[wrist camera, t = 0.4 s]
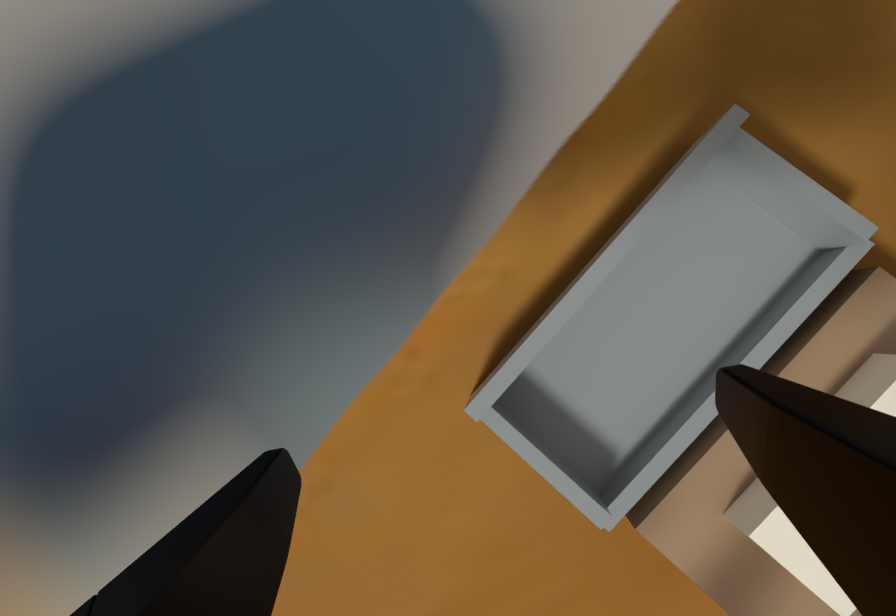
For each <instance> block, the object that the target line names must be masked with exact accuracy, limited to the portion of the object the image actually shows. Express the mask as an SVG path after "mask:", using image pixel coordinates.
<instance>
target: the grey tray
mask: <svg viewBox="0 0 896 616" xmlns="http://www.w3.org/2000/svg"><path fill="white" fill-rule="evenodd" d="M750 115H751V114H749V113H748V112H746V111H745V110H744V109H742V108H741V107H739V106H738V105H737V104H734V105H733V106H732V107H731V108H730V109H729V110H728V111H727V112H726V113H725V114H724V115H723V116H722V117H721V118H720V119H719V120H718V121H717V122H716V123H714V124H713V125H712V126H711V127H710V128H709V129H708V130H707V131H706V132H705V133H704V134H703V135H702V136H701V137H700V138H699V139H698V140H697V141H696V142H695V143H694V144H693V145H692V146H691V147H690V148H689V149H688V150H687V151H686V153H685V154H684V155H683V156H682V157H681V158H680V159H679V161H678V162H677V163H676V164H675V165H674V166H673V167H672V168H671V170H670V171H669V172H668V173H667V174H666V175H665V176H664V178H663V179H662V180H661V181H660V182H659V183H658V184H657V185H656V187H655V188H654V189H653V190H652V191H651V192H650V193H649V194H648V196H647V197H646V198H645V199H644V200H643V201H642V202H641V204H640V205H639V206H638V207H637V208H636V209H635V210H634V211H633V213H632V214H631V215H630V216H629V217H628V218H627V219H626V220H625V222H624V223H623V224H622V225H621V226H620V227H619V228H618V230H617V231H616V232H615V233H614V234H613V235H612V236H611V237H610V239H609V240H608V241H607V242H606V243H605V244H604V245H603V246H602V248H601V249H600V250H599V251H598V252H597V253H596V254H595V256H594V257H593V258H592V259H591V260H590V261H589V262H588V263H587V265H586V266H585V267H584V268H583V269H582V270H581V271H580V272H579V274H578V275H577V276H576V277H575V278H574V279H573V280H572V282H571V283H570V284H569V285H568V286H567V287H566V288H565V289H564V291H563V292H562V293H561V294H560V295H559V296H558V297H557V298H556V300H555V301H554V302H553V303H552V304H551V305H550V306H549V308H548V309H547V310H546V311H545V312H544V313H543V314H542V315H541V317H540V318H539V319H538V320H537V321H536V322H535V323H534V324H533V326H532V327H531V328H530V329H529V330H528V331H527V332H526V334H525V335H524V336H523V337H522V338H521V339H520V340H519V341H518V343H517V344H516V345H515V346H514V347H513V348H512V349H511V350H510V352H509V353H508V354H507V355H506V356H505V357H504V358H503V360H502V361H501V362H500V363H499V364H498V365H497V366H496V367H495V369H494V370H493V371H492V372H491V373H490V374H489V375H488V376H487V378H486V379H485V380H484V381H483V382H482V383H481V384H480V386H479V387H478V388H477V389H476V390H475V391H474V392H473V393H472V395H471V396H470V397H469V400H468V402H467V404H466V406H465V408H464V411H465V412H466V413H467V414H468V415H470V416H471V417H472V418H473V419H474V420H475V421H476V422H478V421H479V419H480V420H481V421H482V422H483V423H484V424H486V425H487V426H488V427H489V428H490V429H491V430H492V431H493V432H494V433H495V434H497V435H498V436H499V437H500V438H501V439H502V440H503V441H504V442H505V443H506V444H507V445H509V446H510V447H511V448H512V449H513V450H514V451H515V452H516V453H517V454H518V455H519V456H521V457H522V458H523V459H524V460H525V461H526V462H527V463H528V464H529V465H530V466H532V467H533V468H534V469H535V470H536V471H537V472H538V473H539V474H540V475H541V476H542V477H544V478H545V479H546V480H547V481H548V482H549V483H550V484H551V485H552V486H553V487H555V488H556V489H557V490H558V491H559V492H560V493H561V494H562V495H563V496H564V497H565V498H567V499H568V500H569V501H570V502H571V503H572V504H573V505H574V506H575V507H576V508H577V509H579V510H580V511H581V512H582V513H583V514H584V515H585V516H586V517H587V518H588V519H590V520H591V521H592V522H593V523H594V524H595V525H596V526H597V527H598V528H599V529H600V530H602V528H603V527H604V528H605V529H606V530H607V531H609V532H610V531H611V530H612V529H613V528H614V527H615V525H616V524H617V523H618V522H619V521H620V520H621V519H622V518H623V517H624V516H625V515H626V514H627V512H628V511H629V510H630V509H631V508H632V507H633V506H634V505H635V504H636V503H637V502H638V501H639V499H640V498H641V497H642V496H643V495H644V494H645V493H646V492H647V491H648V490H649V489H650V487H651V486H652V485H653V484H654V483H655V482H656V481H657V480H658V479H659V478H660V477H661V476H662V474H663V473H664V472H665V471H666V470H667V469H668V468H669V467H670V466H671V465H672V464H673V463H674V461H675V460H676V459H677V458H678V457H679V456H680V455H681V454H682V453H683V452H684V451H685V450H686V448H687V447H688V446H689V445H690V444H691V443H692V442H693V441H694V440H695V439H696V438H697V437H698V435H699V434H700V433H701V432H702V431H703V430H704V429H705V428H706V427H707V426H708V425H709V423H710V422H711V421H712V420H713V419H714V418H715V417H716V416H717V415H718V414H719V413H718V411H717V409H716V405H715V380H716V372H717V370H718V369H719V368H720V367H724V366H729V365H735V364H743V365H746V366H749V367H752V368H755V369H758V370H759V369H760V368H761V367H762V366H763V365H764V364H765V363H766V362H767V361H768V360H769V358H770V357H771V356H772V355H773V354H774V353H775V352H776V351H777V350H778V349H779V348H780V346H781V345H782V344H783V343H784V342H785V341H786V340H787V339H788V338H789V337H790V336H791V335H792V333H793V332H794V331H795V330H796V329H797V328H798V327H799V326H800V325H801V324H802V323H803V322H804V320H805V319H806V318H807V317H808V316H809V315H810V314H811V313H812V312H813V311H814V310H815V309H816V307H817V306H818V305H819V304H820V303H821V302H822V301H823V300H824V299H825V298H826V297H827V296H828V294H829V293H830V292H831V291H832V290H833V289H834V288H835V287H836V286H837V285H838V284H839V282H840V281H841V280H842V279H843V278H844V277H845V276H846V275H847V274H848V273H849V272H850V271H851V269H852V268H853V267H854V266H855V265H856V264H857V263H858V262H859V261H860V260H861V259H862V258H863V256H864V255H865V254H866V253H867V252H868V251H869V250H870V249H871V248H872V247H873V246H874V245H875V244H874V243H873V242H871V241H870V240H868V239H869V238H870V237H871V236H872V235H873V234H874V233H875V232H876V231H877V230H878V229H879V227H877V226H876V225H875V224H873V223H872V222H871V221H869V220H868V219H866V218H865V217H864V216H862V215H861V214H859V213H858V212H857V211H855V210H854V209H853V208H851V207H850V206H848V205H847V204H846V203H844V202H843V201H841V200H840V199H839V198H837V197H836V196H834V195H833V194H832V193H830V192H829V191H828V190H826V189H825V188H823V187H822V186H821V185H819V184H818V183H816V182H815V181H814V180H812V179H811V178H809V177H808V176H807V175H805V174H804V173H803V172H801V171H800V170H798V169H797V168H796V167H794V166H793V165H791V164H790V163H789V162H787V161H786V160H785V159H783V158H782V157H780V156H779V155H778V154H776V153H775V152H773V151H772V150H771V149H769V148H768V147H766V146H765V145H764V144H762V143H761V142H760V141H758V140H757V139H755V138H754V137H753V136H751V135H750V134H748V133H747V132H746V131H744V130H743V129H742V128H740V126H741V125H742V124H743V122H744V121H745V120H746V119H747V118H748V117H749V116H750Z"/></svg>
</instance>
